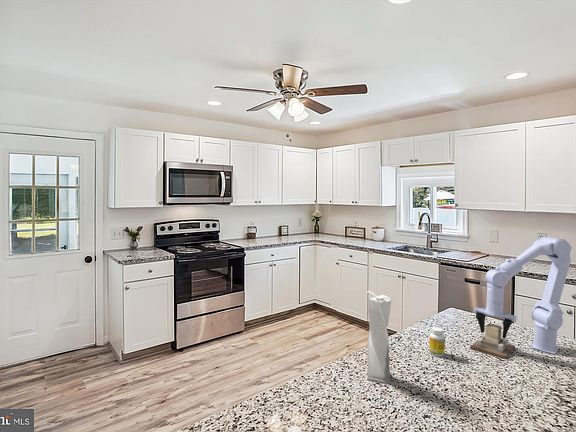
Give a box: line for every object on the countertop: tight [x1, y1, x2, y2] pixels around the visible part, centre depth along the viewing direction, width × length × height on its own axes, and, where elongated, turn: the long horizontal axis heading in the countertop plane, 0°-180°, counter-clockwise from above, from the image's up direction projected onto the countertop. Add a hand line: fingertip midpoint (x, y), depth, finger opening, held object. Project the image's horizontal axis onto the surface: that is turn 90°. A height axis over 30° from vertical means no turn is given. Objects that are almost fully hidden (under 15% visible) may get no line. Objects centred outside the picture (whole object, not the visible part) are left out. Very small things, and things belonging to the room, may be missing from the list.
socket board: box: [469, 333, 516, 360], centre depth 140 cm, size 14×12×4 cm
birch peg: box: [484, 323, 503, 344], centre depth 140 cm, size 4×4×8 cm
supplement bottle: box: [428, 326, 446, 358], centre depth 135 cm, size 5×5×10 cm
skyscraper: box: [366, 290, 392, 385], centre depth 117 cm, size 8×8×28 cm
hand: (493, 334), depth 140 cm, fingers open, 7 cm apart
